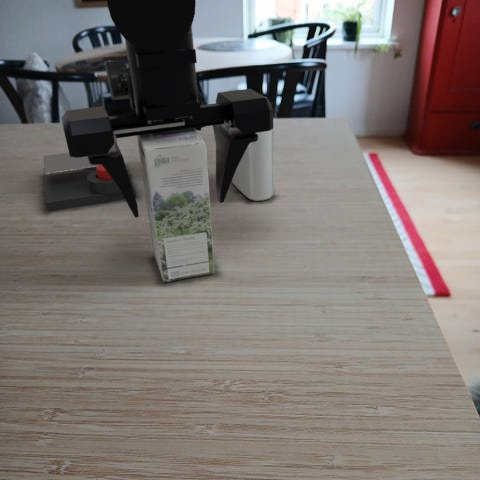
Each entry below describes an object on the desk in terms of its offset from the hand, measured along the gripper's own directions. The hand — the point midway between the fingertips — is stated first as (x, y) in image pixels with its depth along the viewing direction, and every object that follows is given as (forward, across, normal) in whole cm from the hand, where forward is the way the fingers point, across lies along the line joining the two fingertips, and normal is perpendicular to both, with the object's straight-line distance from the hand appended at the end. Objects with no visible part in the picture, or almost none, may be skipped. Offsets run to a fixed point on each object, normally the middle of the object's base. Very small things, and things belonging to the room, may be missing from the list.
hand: (179, 208), depth 52 cm
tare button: (+4, +5, -24) cm, 25 cm away
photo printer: (+7, -14, -18) cm, 24 cm away
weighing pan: (+3, +10, -31) cm, 32 cm away
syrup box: (+7, 0, 0) cm, 7 cm away
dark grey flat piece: (+6, +8, -28) cm, 30 cm away
